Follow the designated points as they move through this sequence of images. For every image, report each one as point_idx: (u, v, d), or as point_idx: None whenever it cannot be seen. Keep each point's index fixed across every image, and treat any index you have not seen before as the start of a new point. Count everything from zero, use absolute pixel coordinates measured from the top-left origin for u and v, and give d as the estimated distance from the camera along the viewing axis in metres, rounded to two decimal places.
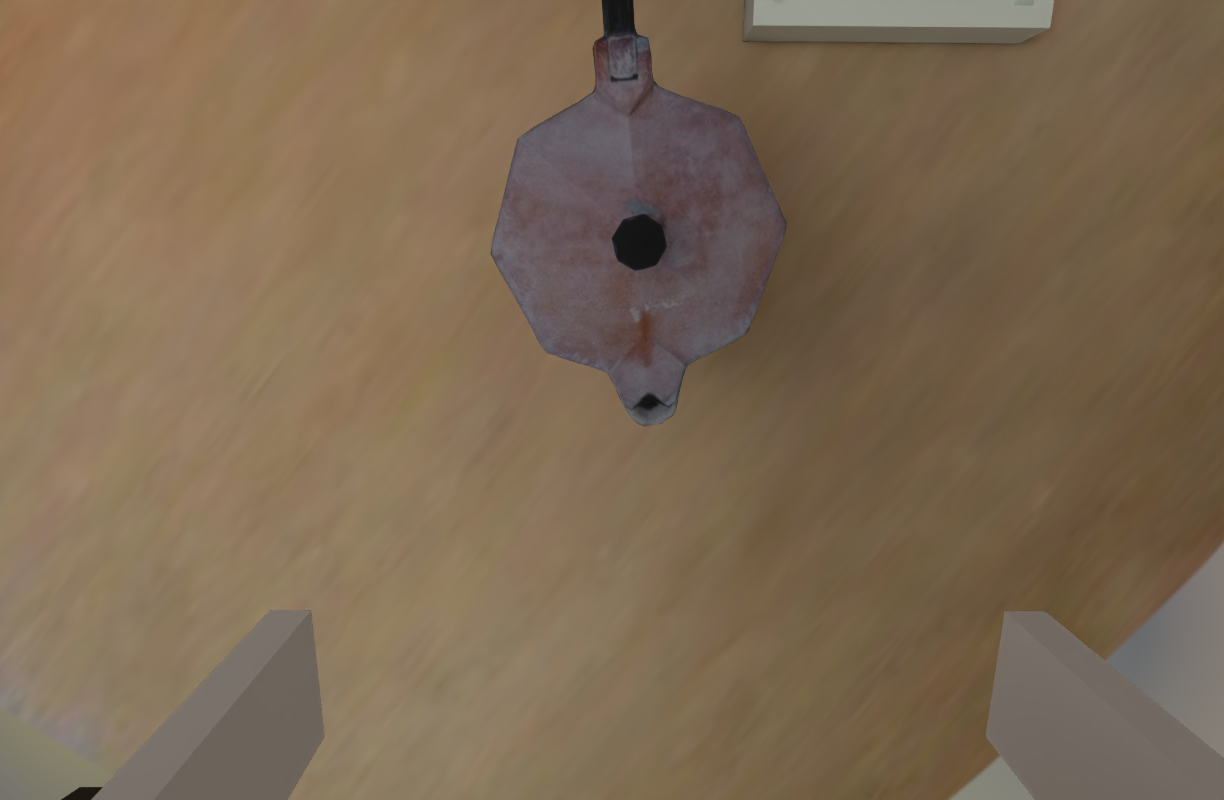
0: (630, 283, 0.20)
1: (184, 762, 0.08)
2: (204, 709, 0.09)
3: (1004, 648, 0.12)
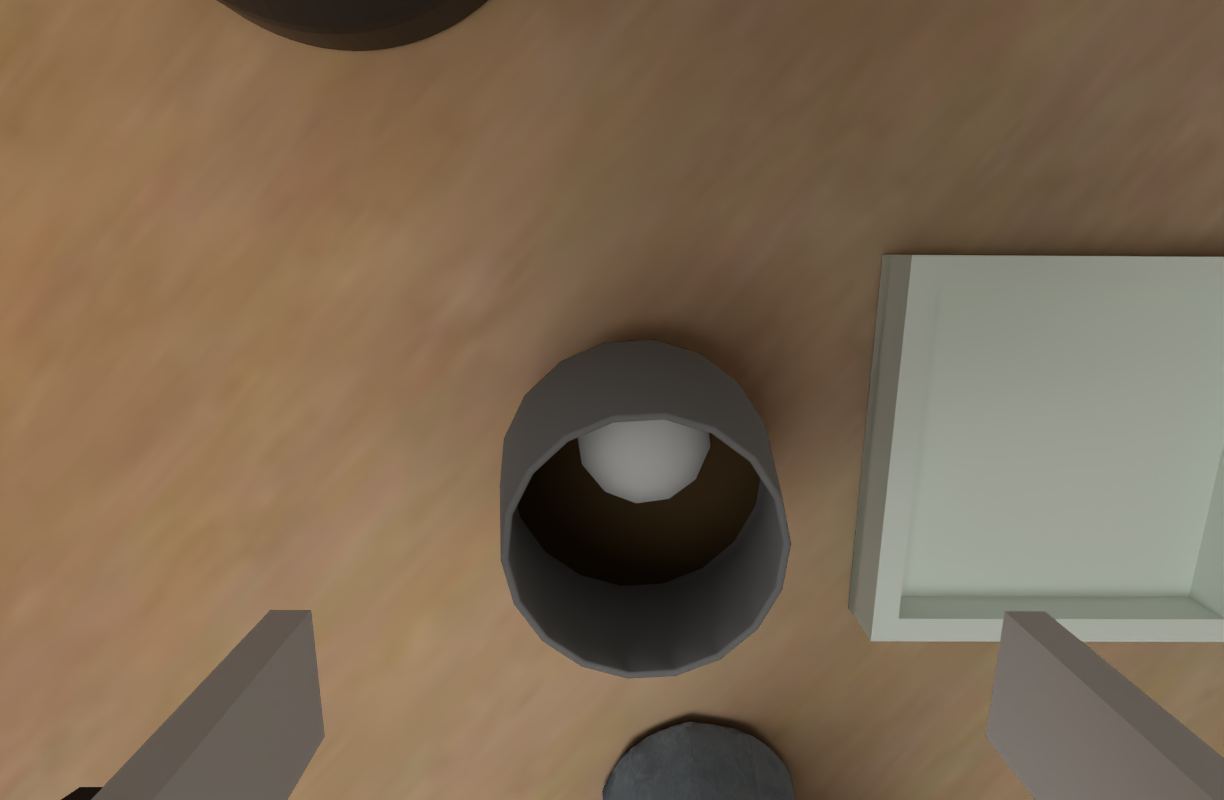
0: None
1: (184, 762, 0.08)
2: (204, 709, 0.09)
3: (1004, 648, 0.12)
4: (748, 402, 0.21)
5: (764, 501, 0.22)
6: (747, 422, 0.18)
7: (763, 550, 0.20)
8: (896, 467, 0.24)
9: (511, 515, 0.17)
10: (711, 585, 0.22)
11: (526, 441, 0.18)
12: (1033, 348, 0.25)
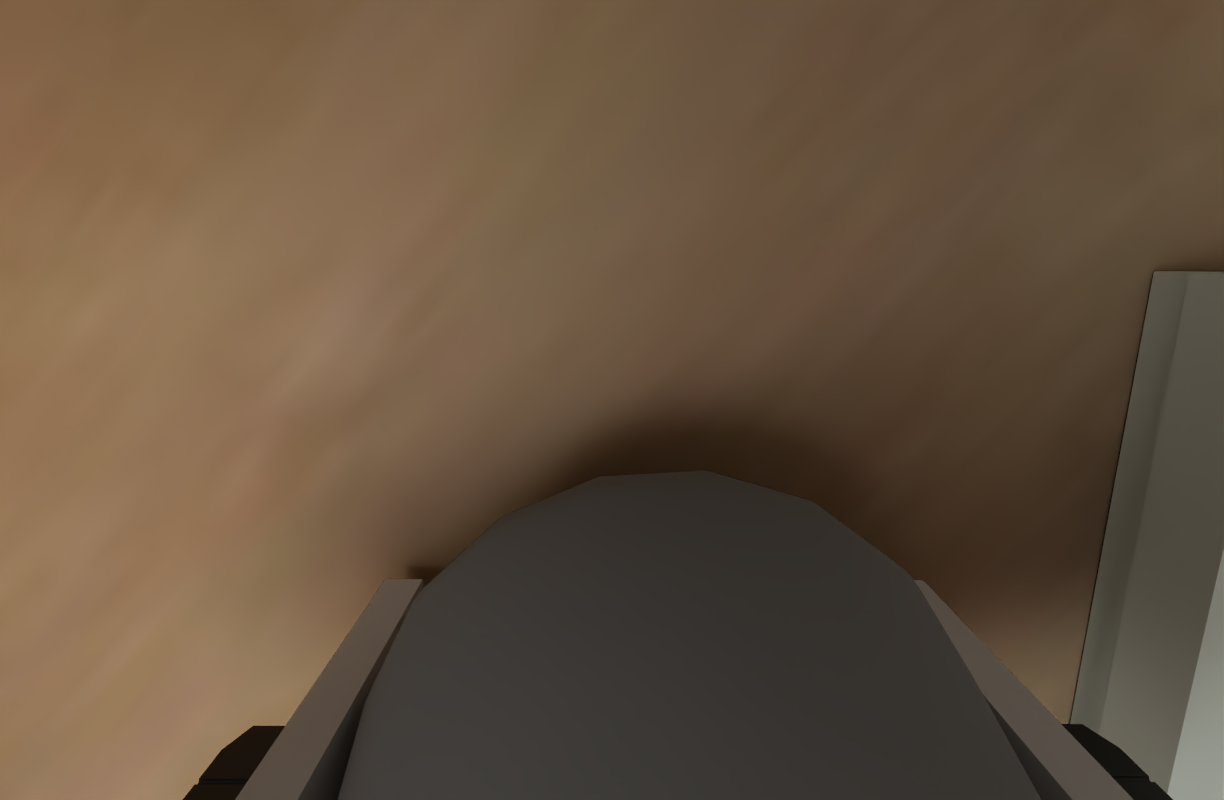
0: None
1: (353, 701, 0.10)
2: (355, 659, 0.11)
3: None
4: (950, 641, 0.09)
5: None
6: None
7: None
8: (1201, 710, 0.12)
9: None
10: None
11: None
12: None
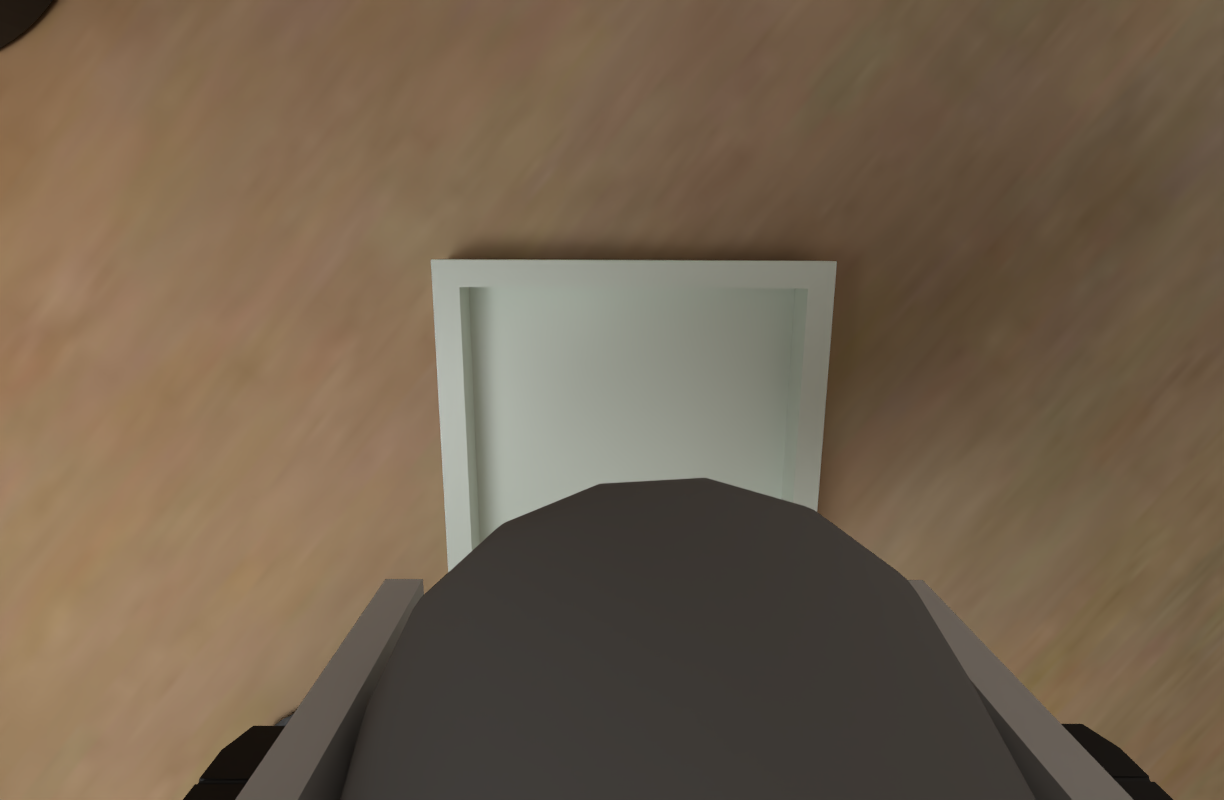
0: None
1: (353, 701, 0.10)
2: (355, 659, 0.11)
3: None
4: (950, 649, 0.09)
5: None
6: None
7: None
8: (448, 459, 0.26)
9: None
10: None
11: None
12: (590, 347, 0.26)
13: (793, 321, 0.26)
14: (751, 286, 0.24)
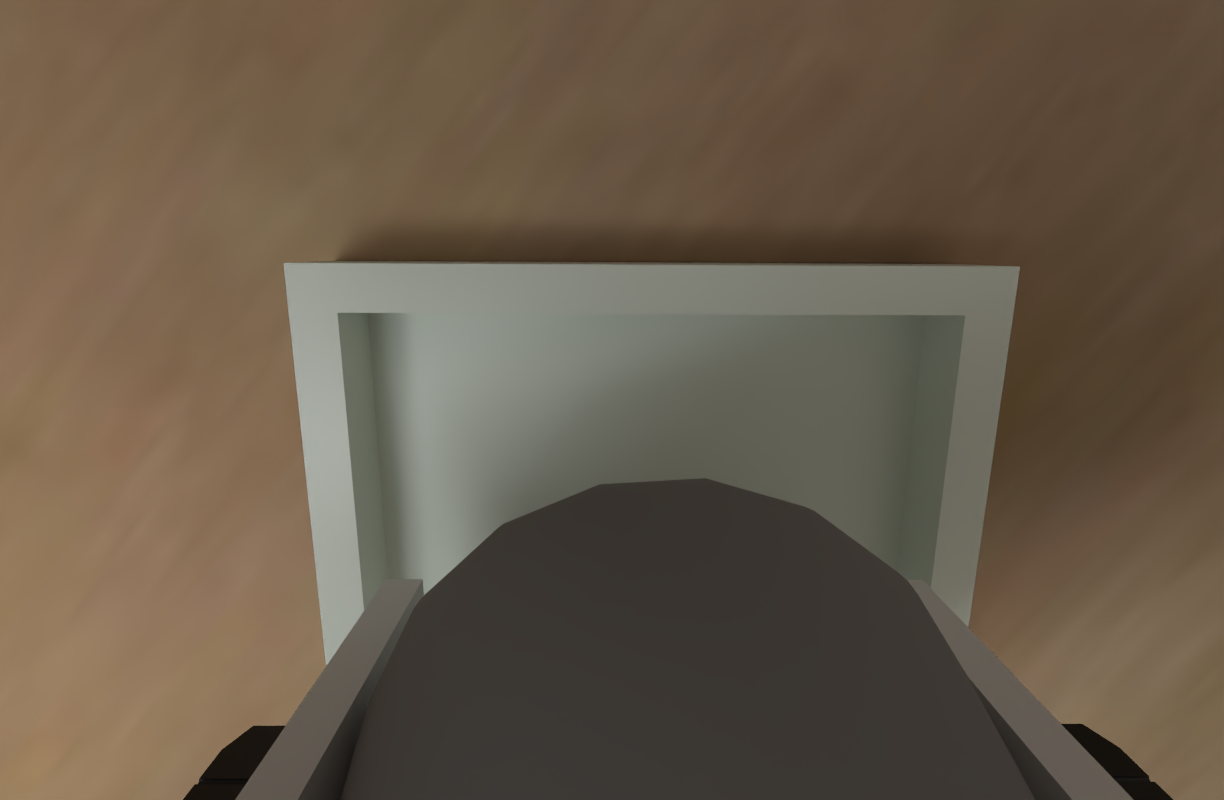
0: None
1: (353, 701, 0.10)
2: (355, 659, 0.11)
3: None
4: (950, 650, 0.09)
5: None
6: None
7: None
8: (331, 607, 0.15)
9: None
10: None
11: None
12: (576, 410, 0.16)
13: (921, 367, 0.15)
14: (863, 311, 0.14)
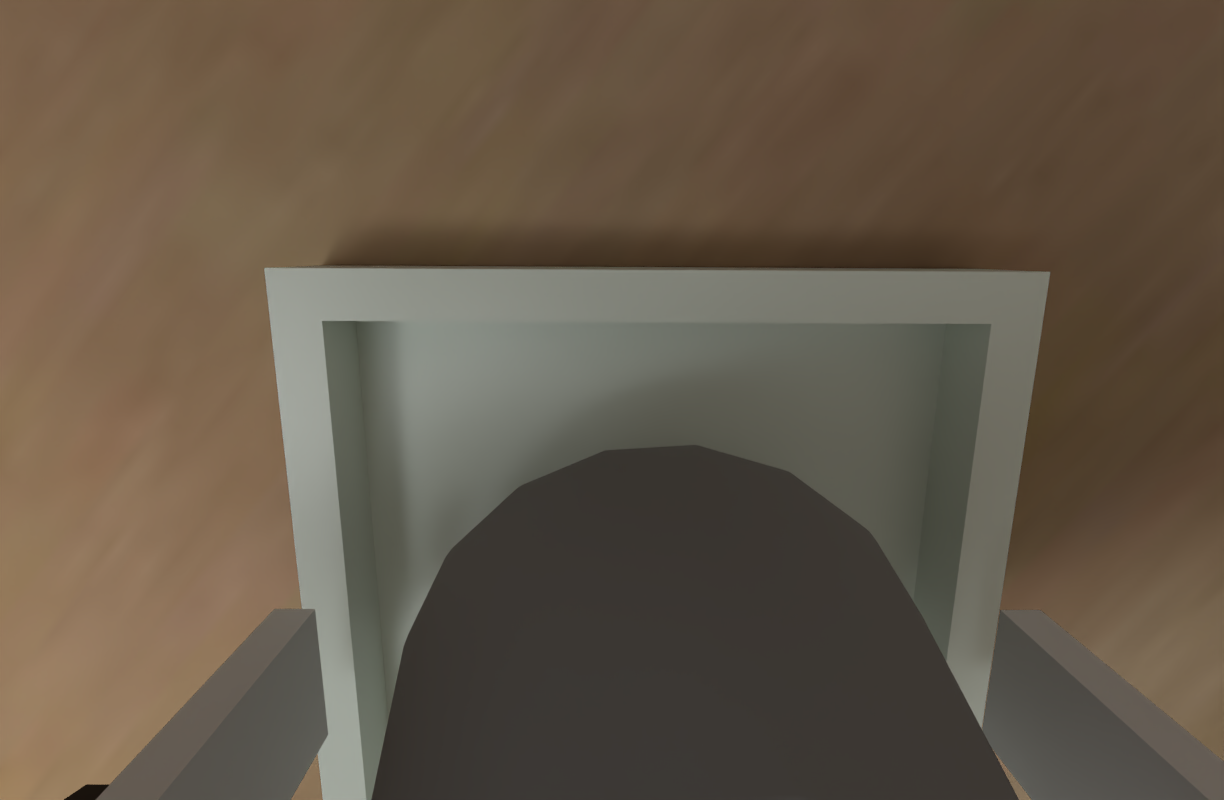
0: None
1: (190, 759, 0.08)
2: (209, 707, 0.09)
3: (1000, 647, 0.12)
4: (901, 585, 0.10)
5: None
6: (955, 697, 0.08)
7: None
8: None
9: None
10: None
11: (408, 763, 0.07)
12: (576, 423, 0.15)
13: (941, 378, 0.15)
14: (882, 319, 0.13)
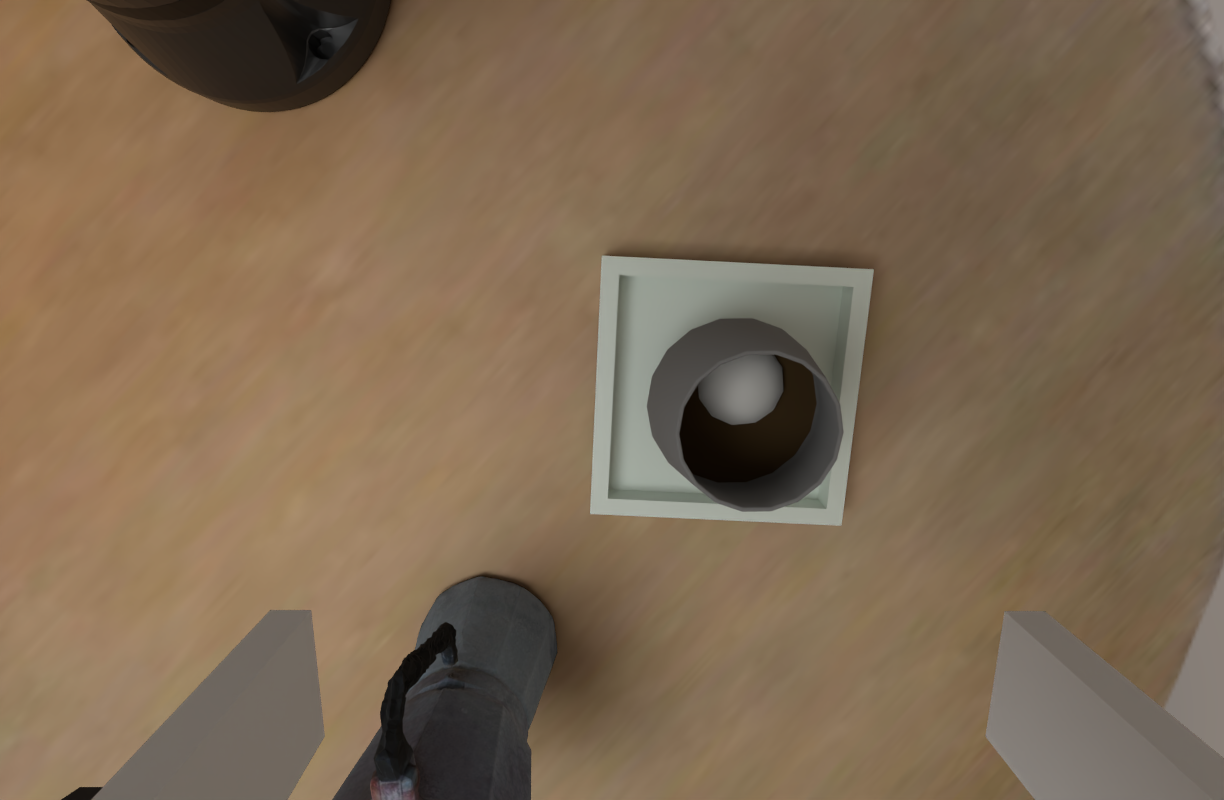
0: None
1: (184, 762, 0.08)
2: (204, 709, 0.09)
3: (1004, 648, 0.12)
4: None
5: (818, 424, 0.34)
6: (817, 365, 0.31)
7: (820, 448, 0.32)
8: (600, 393, 0.37)
9: (683, 407, 0.29)
10: (782, 477, 0.34)
11: (686, 369, 0.30)
12: (699, 322, 0.38)
13: (840, 310, 0.38)
14: (815, 283, 0.36)
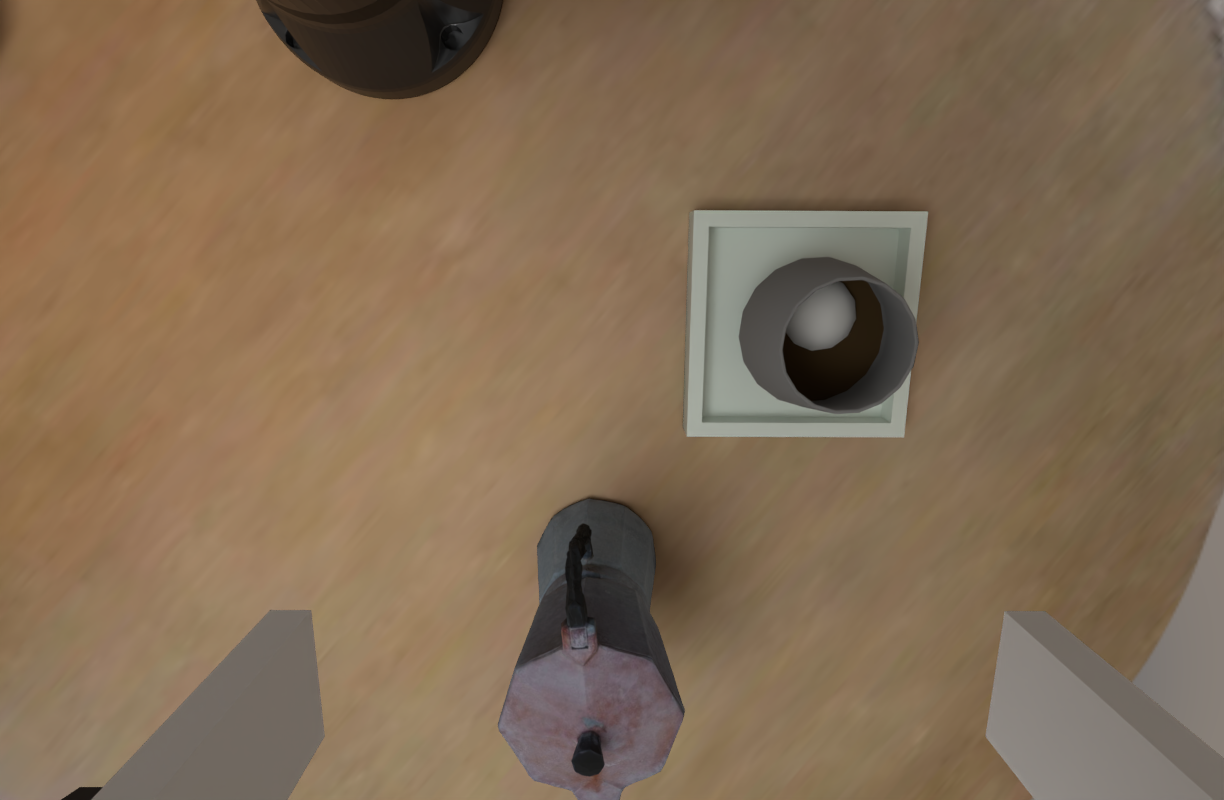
0: None
1: (184, 762, 0.08)
2: (204, 709, 0.09)
3: (1004, 648, 0.12)
4: None
5: (888, 345, 0.40)
6: None
7: (894, 362, 0.38)
8: (694, 331, 0.43)
9: (785, 327, 0.35)
10: (858, 391, 0.40)
11: (782, 298, 0.36)
12: (775, 265, 0.44)
13: (897, 249, 0.44)
14: (878, 226, 0.42)
